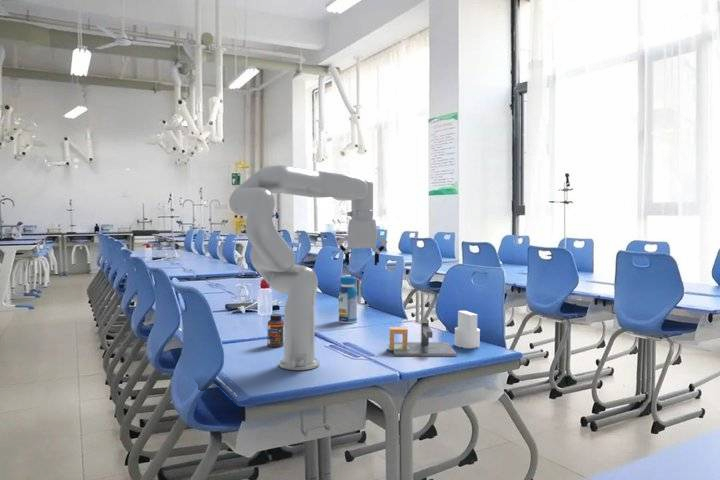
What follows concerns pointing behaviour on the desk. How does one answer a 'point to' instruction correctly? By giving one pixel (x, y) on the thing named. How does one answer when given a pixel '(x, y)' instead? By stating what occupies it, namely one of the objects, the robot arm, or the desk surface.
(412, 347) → the stand
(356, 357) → the desk surface
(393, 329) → the orange staple
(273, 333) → the supplement bottle
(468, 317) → the cylinder with rectangular tab
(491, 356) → the desk surface
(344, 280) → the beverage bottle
